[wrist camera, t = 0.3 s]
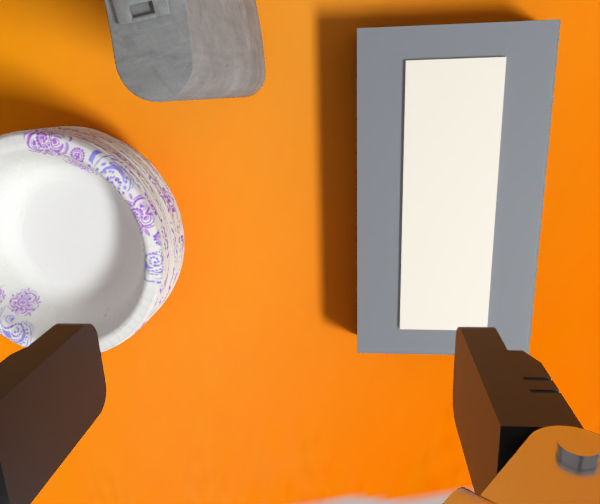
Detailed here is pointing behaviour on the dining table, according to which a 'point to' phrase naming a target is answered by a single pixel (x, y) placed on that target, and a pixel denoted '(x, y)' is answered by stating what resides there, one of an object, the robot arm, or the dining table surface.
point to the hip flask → (187, 48)
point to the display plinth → (450, 180)
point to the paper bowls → (83, 235)
